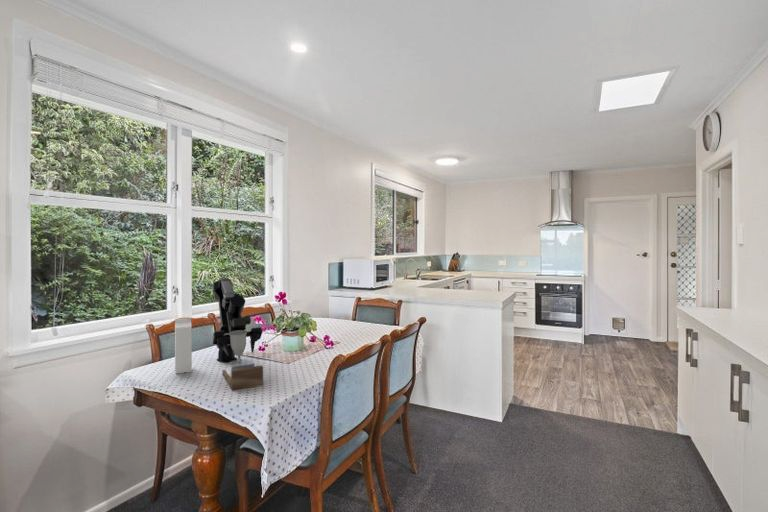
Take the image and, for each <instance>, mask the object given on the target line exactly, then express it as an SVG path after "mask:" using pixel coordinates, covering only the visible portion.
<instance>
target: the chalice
mask: <svg viewBox="0 0 768 512" xmlns="http://www.w3.org/2000/svg"><path fill="white" fill-rule="evenodd" d="M247 332H248V331H247V330H237V331H232V332H230V333H229V335H230V341H231V348H232V350H233V352H234V354H235V357H237V359H236V361H237V364H236V366H239V365H243V364H242V363H241V362H242V359H241V356H243V354H244V352H245V349H246V346H247V337H246V334H247Z"/></svg>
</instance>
